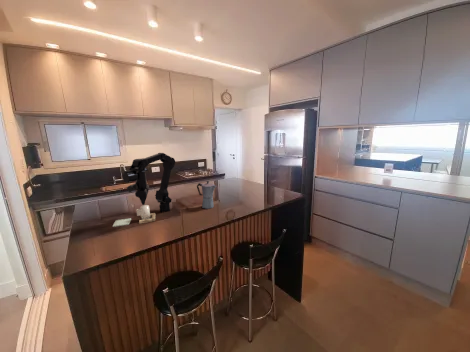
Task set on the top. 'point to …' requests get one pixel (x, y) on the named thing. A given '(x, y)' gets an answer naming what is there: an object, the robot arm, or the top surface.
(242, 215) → the top surface
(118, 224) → the sage coaster
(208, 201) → the moka pot
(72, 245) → the top surface
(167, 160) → the robot arm
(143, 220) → the oak cradle
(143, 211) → the cream jug
